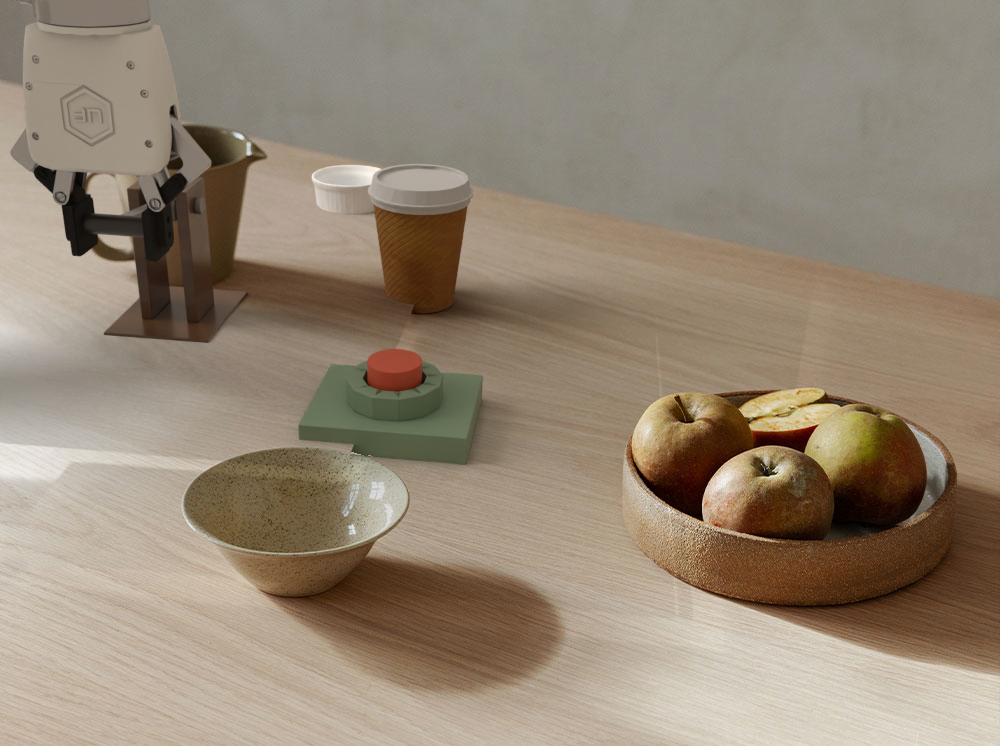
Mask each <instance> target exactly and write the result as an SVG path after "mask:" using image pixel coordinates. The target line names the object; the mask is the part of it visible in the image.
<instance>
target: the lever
mask: <svg viewBox="0 0 1000 746" xmlns="http://www.w3.org/2000/svg"><path fill="white" fill-rule="evenodd" d="M146 209H147V204H145V205H143V206H140V207H138V208H135V209H133V210H131V211H129V210H128V211H126V212H124V213H121V214H113V213H111V214H110V213H96V212H95V213H85V214H84V216H83V219H82V228H83V231H84V232H85V233H87V234H97V235H103V236H115V237H116V236H117V237H131V238H132V237H144V235H143V226H142V212H143V211H144V210H146ZM171 210H172V220H173V222H177V213H176V203H175V199H174V200H173V201H172V202H171Z"/></svg>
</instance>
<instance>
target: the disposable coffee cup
mask: <svg viewBox="0 0 1000 746" xmlns="http://www.w3.org/2000/svg"><path fill="white" fill-rule="evenodd" d="M380 169H381V170H379V171H377V172H376V173H374V175H373V178H372V183H371V185H370V186H369V188H368V194H369V196H370V197H371V201H372V203H373V205H374V212H373V213H374V218H375V219H374V220H375V226H376V233H377V239H378V246H379V247H378V248H379V253H380V263H381V266H382V267H381V268H382V275H383V282H384V283H383V284H384V290H385V294H386V295H387V297H388V298H389V299H391V300H394V301H396V302H399V303H402V304H407V305H413V307H412V309H411V312H410V313H413V314H431V313H436V312H437V313H438V312H441V311H443V310H447V309H448V308H450V307H452V305H453V304H454V301H455V294H456V293H455V292H456V285H457V280H458V273H459V266H460V259H461V253H462V246H463V240H464V233H465V227H466V226H465V225H466V220H467V214H468V213H467V212H468V208H469V207H468V206H469V205H470V203H471V199H472V198H473V197H474V189H473V187H472V186H471V185H470V179H469V176H468V174H466V173H465V172H464V171H462V170H459V169H457V168H454V167H451V166H445V165H439V164H429V163H408V164H397V165H391V166H387V167H384V168H380Z"/></svg>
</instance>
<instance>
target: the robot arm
mask: <svg viewBox="0 0 1000 746" xmlns="http://www.w3.org/2000/svg"><path fill="white" fill-rule="evenodd" d="M16 1H17V2H18V3H19V4H22V5H28V6H30V7H32V13H33V17H36V22H31V23H28V24H26V25H25V28H24V29H25V30H24V39H23V50H22V51H23V54H22V93H23V94H22V95H23V110H24V121H25V128H24V130H23V132H21V135H19V138H18V139H17V140H16V142H15V143H14V145H13V146H12V147H11V149H10V156H11V158H12V159H13V160H14V161H16V162H17V163H18V164H20V165H21V166H22V167H23V168H25V170H26V171H28V172H30V173H33V175H34V178H35V179H36V180H37V181H38V182H39V183H40V184H41V185H43V186H44V188H46V189H47V190H48V192H50V193H51V194H52V199H53V201H54V202H55V203H56V204H58V205H60V206H61V212H62V213H61V214H62V219H63V227H64V234H65V238H66V240H67V241H68V242H69V243H70V244H69V245H70V250H71V255H72V257H82V256H84V255H85V254H87V253H88V252H89V251H91V250H92V249H93V248H94V247H95V246H97V245H98V243H99V234H87V233H85V232H84V231H83V228H82V219H83V216H84V214H85V213H96V212H95V204H94V198H93V197H92V194H91V193H86V190H85V189H86V182H87V176H88V173H89V174H102V175H104V174H105V175H116V176H117V175H118V176H132V177H133V176H134V177H136V180H137V181H138V182H139V185H140V187H141V190H142V192H143V195H144V197H145V200H146V202H147V209H146V210H144V211H143V212H142V226H143V235H144V244H145V253H146V259H147V260H148V261H149V262H157V261H159V260H160V259H161V258H162V257H163V256H164V255H165V254H166V255H167V254H168V253H169V252H170V250H171V248H172V247H173V246H174V243H175V233H174V231H175V230H174V221H173V220H172V210H171V202H172V201H173V200H174V199H175V198H176V197H177V196H178V195H179V194H180V193H181V192H182V191H183V190H184V189H185V188H186V187H187V186H188V185H189V184H190V183H191V182H192V181H194V180H195V179H196V178H197V177H201V175H203V174H204V173H205V172H206V171H208V169H210V168H211V166H212V160H211V158H210V157H209V155H207V153H206V152H205V151H204V149H203V148H201V146H200V145H199V144H198V143H197V141H196V140H195V139H194V138H193V136H191V134H190V133H189V132H188V131H187V129H186V128H185V127H184V126H183V123H182V122H183V121H182V115H181V108H180V102H179V96H178V90H177V85H176V80H175V75H174V71H173V66H172V63H171V58H170V54H169V50H168V48H167V44H166V41H165V38H164V34H163V32H162V28H161V26H160V25H159V24H154V23H152V15H151V14H152V13H151V4H150V3H151V2H150V0H16ZM178 158H180V159H181V161H182V167H180V169H178V170H177V171H176V172H175V173H173V174H172V175H171V174H170V172H169V169H168V167H167V166H168V165H169V162H171V161H175V160H177V159H178Z"/></svg>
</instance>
